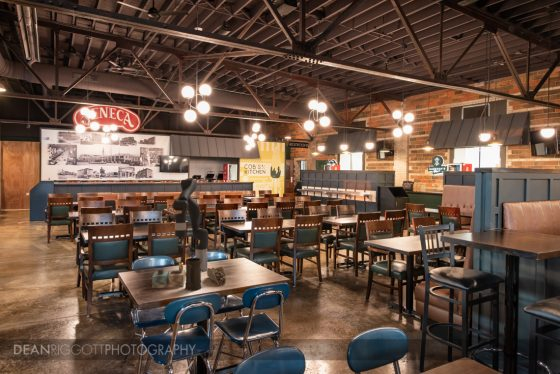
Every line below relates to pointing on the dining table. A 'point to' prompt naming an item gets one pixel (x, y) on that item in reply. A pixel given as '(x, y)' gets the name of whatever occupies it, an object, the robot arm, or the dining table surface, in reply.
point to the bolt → (179, 268)
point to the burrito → (217, 275)
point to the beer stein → (193, 274)
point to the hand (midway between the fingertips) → (180, 252)
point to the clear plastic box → (168, 279)
